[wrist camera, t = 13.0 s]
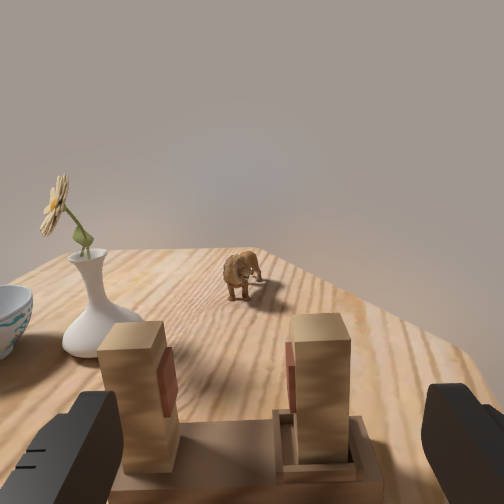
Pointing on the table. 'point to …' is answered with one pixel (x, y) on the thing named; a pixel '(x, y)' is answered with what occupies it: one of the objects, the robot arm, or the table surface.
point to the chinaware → (13, 315)
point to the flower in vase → (90, 266)
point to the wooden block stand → (214, 441)
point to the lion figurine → (240, 272)
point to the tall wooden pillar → (319, 387)
